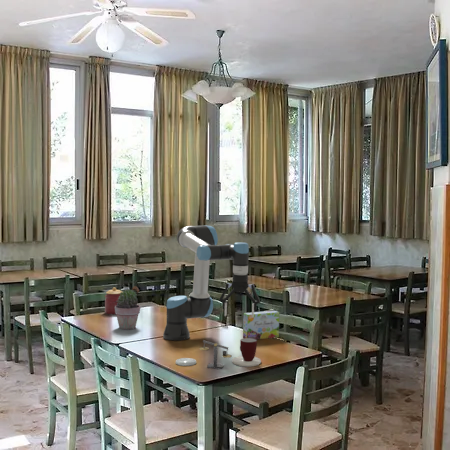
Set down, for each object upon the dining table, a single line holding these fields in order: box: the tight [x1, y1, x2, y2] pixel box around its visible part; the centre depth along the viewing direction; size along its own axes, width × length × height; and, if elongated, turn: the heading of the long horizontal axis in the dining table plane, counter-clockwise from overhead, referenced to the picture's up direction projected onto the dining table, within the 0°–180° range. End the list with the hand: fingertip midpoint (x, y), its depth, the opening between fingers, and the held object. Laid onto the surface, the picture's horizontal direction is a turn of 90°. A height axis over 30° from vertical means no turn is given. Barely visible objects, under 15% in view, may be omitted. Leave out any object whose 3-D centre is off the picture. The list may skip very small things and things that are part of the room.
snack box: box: [242, 310, 280, 340], centre depth 331 cm, size 21×6×15 cm, turn 117°
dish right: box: [231, 355, 262, 368], centre depth 281 cm, size 14×14×1 cm
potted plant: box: [114, 285, 143, 330], centre depth 351 cm, size 18×20×25 cm
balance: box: [199, 339, 232, 370], centre depth 273 cm, size 15×5×12 cm, turn 83°
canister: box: [104, 287, 123, 315], centre depth 397 cm, size 13×13×18 cm
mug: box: [239, 338, 258, 362], centre depth 281 cm, size 11×8×10 cm
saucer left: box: [175, 357, 197, 367], centre depth 279 cm, size 10×10×1 cm
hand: (239, 316), depth 285 cm, fingers open, 13 cm apart
